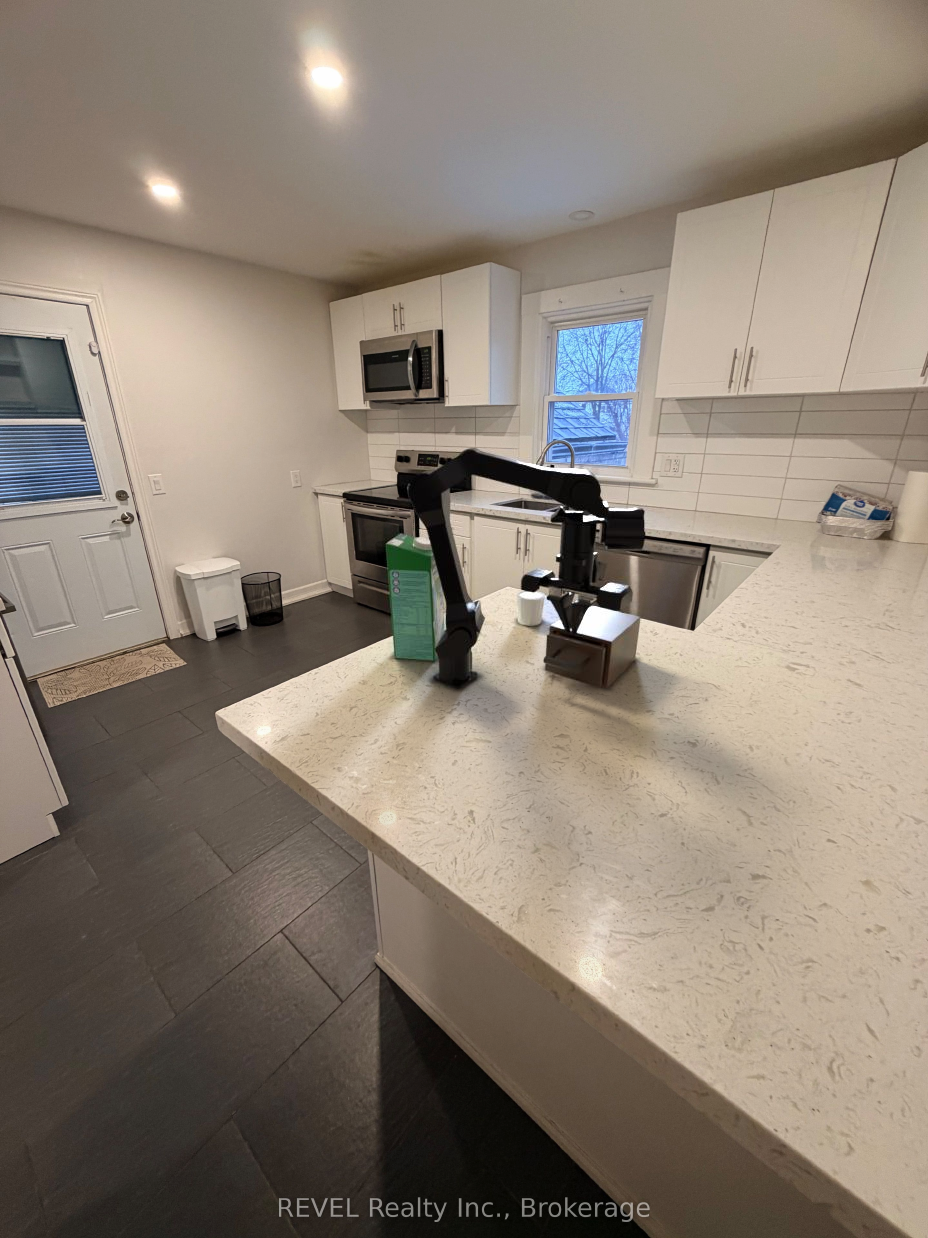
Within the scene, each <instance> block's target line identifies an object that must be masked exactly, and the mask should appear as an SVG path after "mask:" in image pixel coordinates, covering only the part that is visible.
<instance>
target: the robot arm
mask: <svg viewBox="0 0 928 1238" xmlns="http://www.w3.org/2000/svg"><path fill="white" fill-rule="evenodd" d="M469 476H475V477H479V478H484V479H488V480H491V481H496V482H499V483H502V484H507V485H511V486H514V487H519V488H522V489H526V490H529V491H534V492H537V493H540V494H542V495H544V496H546V497H548V498H550V499H552V500H553V501H554V502H557V503H559V504H561V505H559V507H558V509H557V510H556V511H555V512H554V513H552V514H551V515H550V520H549V521H550V523H551V524H561V525H560V543H559V554H557V555H556V556H555V562H556V563H558V574H557V575H558V577H557V578H556V574H555V572H554V571H553V570H547V569H542V568H535V569H533V570H531V571H529V572H526V573H524V575H523V576H522V577H521V579H520V590H521V591H528V592H533V593H535V592H536V591H539V590H540V587H542V588H547V589H548V595H547V596H545V598H546V600H547V601H550V603H551V604H552V607H553V608H554V610H555V612H556V614H557V615H558V617H559V619H560V620H561V622H562V625H563V627H564V629H565V631H566V633H569V632H570V631H572V635H574V634H576V633H577V631H578V628H579V626H580V624H581V622H582V620H583V618H584V616H585V614H586V612H587V610H588V609H589V608H590V607H592V606H595V605H596V604H597V606H599V608H603V609H608V610H612V611H617V612H621V611H622V610H623V609H625V607H627V606H628V605H630V604H631V603H632V602H633V595H634V593H633V589H632V588H631V586H630V585H626V584H622V583H617V582H616V583H615V582H609V583H607V584H606V585H604V586H603V587H602V586H597V585H593V583H594V584H597V583H598V582H599V581H602V582H604V580H605V576H606V571H607V567H608V564H607V563H606V562H602V561H599V560H598V558H599V555H598V552H596V551H595V550H596V539H597V538H596V537H597V527H598V524H599V533H598V538H599V539H598V540H599V542H598V543H599V544H603V547H605V550H606V551H640V552H641V551H643V549H644V545H645V541H646V531H645V530H646V529H645V526H646V525H645V512H646V511H645V510H644V508H642V507H632V508H609V507H610V506H609V504H608V502H607V501H604V499H603V497H602V496H601V494H602V488H601V483H599V480H598V478H597V476H596V475H595V474H594V473H593V472H592V471H589V470H587V469H579V468H567V467H566V468H564V467H563V468H562V467H561V468H559V467H545V466H540V465H537V464H533V463H529V462H525V461H521V460H517V459H513V458H510V457H505V456H501V455H499V454H498V455H497V454H494V453H490V452H486V451H482V450H481V449H479V448H477V447H469V448H466V449H464V450H462V451H461V452H460V453H459V455H457V456H456V457H454V458H452V459H451V460H449V461H448V462H446V463H445V464H443V465H441V466H440V467H438V468H436V469H435V468H433V469H432V468H430V469H427V470H425V471H422V472H420V473H417V474H416V475H414V476H413V477H412V478H411V479H410V481H409V483H408V484H407V496H408V499H409V501H410V503H411V505H412V507H413V510H414V512H415V514H416V516H417V517H418V518H419V520H420V522H421V523H422V524H423V526H424V527H425V529H426V532H427V537H428V540H429V541H430V544H431V548H432V552H433V556H434V560H435V563H436V567H437V571H438V575H439V578H440V582H441V586H442V590H443V597H444V602H445V618H444V624H445V631H444V633H443V635H442V637H441V639H440V640H439V642H438V644H437V646H436V648H435V651H436V653H437V658H438V673H436V674H435V675H433V677H432V678H433V680H434V681H437V682H439V683H442V684H444V685H447V686H449V687H452V688H455V689H461V688H462V687H464V686H465V685H467V684H468V683H470V682H472V681H473V680H475V678H477V677H478V676H479V673H478V672H476V671H473V651H472V648H473V647H475V645H476V644H477V642H478V640H479V637H480V633H481V631H482V628H483V625H484V622H485V620H486V617H485V616H484V614H483V611H482V602H481V600H479V599H478V600H475V601H474V600H473V599H472V598H471V596H470V594H469V592H468V589H467V585H466V581H465V576H464V572H463V568H462V564H461V560H460V557H459V552H458V547H457V544H456V539H455V536H454V531H453V528H452V524H451V488H453V487H454V486H456V485H457V484H458V483H460V482H462V481H463V480H465V479H466V478H468V477H469ZM562 505H563V506H562ZM564 506H565V507H568V508H570V509H571V510H566V509H565V508H564ZM584 511H586V512H587V513H589V514H590V515H592V516H587V515H584ZM575 595H577V597H578V599H576V600H574V598H575Z"/></svg>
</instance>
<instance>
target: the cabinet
mask: <svg viewBox="0 0 928 1238" xmlns="http://www.w3.org/2000/svg"><path fill="white" fill-rule="evenodd" d="M641 618H642V617H641V616H638V615H635V614H630V613H625V612H621V611H614V610H609V609H605V608H600V606H599V607H598V606H595V605H593V606H592V607H590V608H589V609H588V610H587V612H586V614H585V616H584V618H583V620H582V622H581V624H580V626H579V628H578V631H577V633H576V634H574V635H573V636H577V637H581V638H585V639H588V640H592V641H596V642H600V643H604V644H607V654H606V663H605V673H604V678H603V680H602V686H601V687H603V688H606V689H608V688H609V687H610V686H611V684H613V683H614V681H615V680H617V678H618V677H619V676H620V675H621V674H622V673H623V672H625V670H626V669H627V668H628V667H629V666H630V665H631V664H632V663H633V662H634V661H635V660H636V655H637V649H638V640H639V633H640V625H641ZM557 631H558V632H562V633H566V631H565V629H564V627H563V625H562V622H561V620H560V618H559V619H558V620H556V621H555V622H553V623H552V624H550V625H549V633H554V634H556V632H557ZM566 634H570V635H572V631H570V632H569V633H566Z"/></svg>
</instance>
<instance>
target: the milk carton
mask: <svg viewBox="0 0 928 1238" xmlns="http://www.w3.org/2000/svg"><path fill="white" fill-rule="evenodd" d="M385 553H386V568H387V580H388V592H389V605H390V616H391V617H390V619H391V630H392V642H393V643H392V644H393V645H392V646H393V655H394V656H393V657H394V658H396V659H407V660H421V661H422V660H423V661H430V662H431V661H436V660H437V658H438V656H437V653H436V651H435V648H436V646H437V644H438V642H439V640H440V639H441V637H442V635H443V633H444V631H445V630H446V626H445V604H444V603H445V597H444V594H443V590H442V586H441V582H440V578H439V575H438V571H437V567H436V563H435V560H434V556H433V552H432V548H431V544H430V541H429V538H425V537H415V536H412V535H407V534H404V533H399V534H397V535H396V536H395V537H393V538H392V539H390V540H389V541H388V542H386V543H385Z"/></svg>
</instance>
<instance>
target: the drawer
mask: <svg viewBox="0 0 928 1238" xmlns="http://www.w3.org/2000/svg"><path fill="white" fill-rule="evenodd" d="M606 654H607V644H604V643H600V642H596V641H592V640H588V639H585V638H581V637H577V636H573V635H570V634H566V633H562V632H558V631H557V632H556V634H554V633H550V632H548V633H547V634H546V643H545V656H544V657H543V663H544V670H545V671H546V672H549V673H551V674H552V673H553V674H555V675H558V676H562V677H565V678H568V679H570V680H575V681H576V682H577V681H578V682H580V683H583V684H586V685H589V686H593V687H596V688H601V687H602V680H603V678H604V673H605V663H606Z"/></svg>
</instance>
